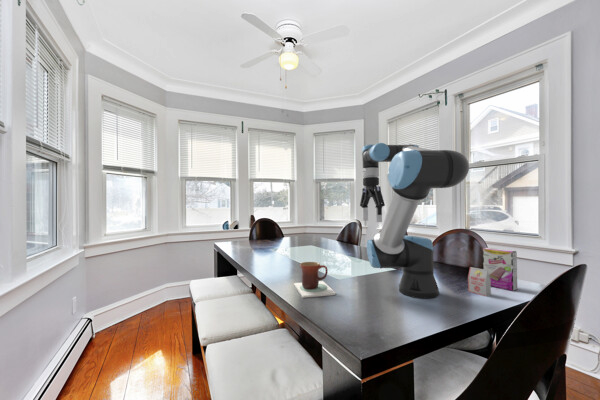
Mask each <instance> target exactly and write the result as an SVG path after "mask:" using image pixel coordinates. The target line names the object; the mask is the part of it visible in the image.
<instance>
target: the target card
mask: <svg viewBox="0 0 600 400" xmlns="http://www.w3.org/2000/svg"><path fill="white" fill-rule="evenodd" d="M293 285H294V288H295V289H296V290H297V291H298V293H299V295H300V296H301V298H304V299H306V298H315V297H324V296H326V297H328V296H336V295H337V292H336V291H334V290H333V288H331V287H330V286H329V285H328V284H327V283H326V282H325V281H324V280H319V285H318V287H317V288H316V289H305V288H303V287H302V282H294V283H293Z"/></svg>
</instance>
